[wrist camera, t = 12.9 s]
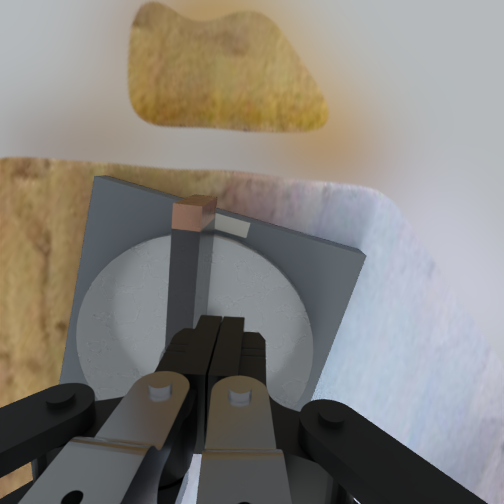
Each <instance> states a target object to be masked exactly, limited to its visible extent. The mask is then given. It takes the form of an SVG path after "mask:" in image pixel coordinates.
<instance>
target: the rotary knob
mask: <svg viewBox="0 0 504 504" xmlns="http://www.w3.org/2000/svg"><path fill="white" fill-rule="evenodd" d="M216 206H217V197H212V196H204V195H192V196H190V197H187V198H185V199H182V200H180V201H177V202H175V203H173V212H172V230H171V233H168V234H164V235H159V236H156V237H153V238H151V239H148V240H145V241H143V242H141V243H139V244H137V245H135V246H134V247H132V248H130V249H128V250H127V251H125V252H124V253H122V254H121V255H119V256H118V257H117V258H115V259H114V260H112V261H111V262H110V263H109V264H108V265H107V266H106V267H105V268H104V269H103V270H102V271H101V272H100V273H99V275H98V276H97V277H96V278H95V280H94V281H93V282H92V284H91V286H90V287H89V289H88V291H87V293H86V295H85V297H84V299H83V302H82V305H81V308H80V311H79V316H78V321H77V331H76V342H77V352H78V356H79V361H80V365H81V368H82V370H83V373H84V376H85V378H86V380H87V382H88V384H89V386H90V387H91V388H92V389H93V390H94V392H95V396H96V397H97V398H98V400H105V399H112V398H118V397H123V396H125V395H126V394H127V392H128V391H129V389H130V388H131V387H132V385H133V384H134V383H135V382H136V381H137V380H138V379H139V378H141V377H143V376H145V375H147V374H150V373H154V371H155V370H156V368H157V366H158V364H159V362H160V360H161V358H162V357H163V355H164V353H165V352H166V349H167V347H168V345H170V342H171V340H172V338H173V336H174V335H175V334H176V333H178V332H179V331H180V330H182V329H183V328H193V329H195V328H196V325H197V323H198V320H199V318H200V316H201V315H214V316H222V317H224V316H231V317H245V327H244V332H259V333H260V334H261V335H262V336H263V338H264V339H265V340H266V385H267V390H268V393H269V395H270V396H271V397H272V399H273V400H275V401H276V402H277V403H279V404H280V405H282V406H284V407H287V408H290V409H293V408H294V406H295V405H296V404H297V402H298V400H299V399H300V397H301V395H302V394H303V392H304V389H305V387H306V384H307V382H308V380H309V376H310V372H311V368H312V361H313V336H312V331H311V326H310V322H309V318H308V315H307V312H306V309H305V306H304V303H303V301H302V299H301V297H300V295H299V293H298V291H297V289H296V287H295V286H294V284H293V283H292V282H291V280H290V279H289V277H288V276H287V275H286V274H285V273H284V272H283V271H282V269H281V268H280V267H279V266H278V265H277V264H276V263H274V262H273V261H272V260H271V259H270V258H268V257H267V256H266V255H265V254H263V253H262V252H260V251H258V250H257V249H255V248H254V247H252V246H250V245H248V244H246V243H244V242H242V241H239V240H237V239H234V238H231V237H228V236H225V235H221V234H216V233H214V229H215V217H216ZM205 446H206V445H205Z"/></svg>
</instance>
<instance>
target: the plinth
mask: <svg viewBox="0 0 504 504" xmlns="http://www.w3.org/2000/svg"><path fill="white" fill-rule="evenodd" d="M182 199H185V198H181V197H178V196H174V195H171V194H167V193H164V192H161V191H157V190H154V189H150V188H147V187H144V186H140V185H137V184H133V183H130V182H127V181H123V180H120V179H116V178H113V177H109V176H94V182H93V188H92V194H91V200H90V206H89V212H88V217H87V223H86V229H85V235H84V241H83V247H82V253H81V259H80V265H79V270H78V276H77V282H76V288H75V294H74V300H73V306H72V312H71V318H70V323H69V329H68V335H67V341H66V347H65V353H64V359H63V365H62V371H61V376H60V382H59V385H60V384H65V383H82V384H86V385H88V386H89V384H88V382H87V380H86V378H85V376H84V373H83V370H82V368H81V365H80V361H79V356H78V352H77V342H76V331H77V321H78V316H79V311H80V308H81V305H82V302H83V299H84V297H85V295H86V293H87V291H88V289H89V287H90V286H91V284H92V282H93V281H94V280H95V278H96V277H97V276H98V275H99V273H100V272H101V271H102V270H103V269H104V268H105V267H106V266H107V265H108V264H109V263H110V262H111V261H112V260H114V259H115V258H117V257H118V256H119V255H121V254H122V253H124V252H125V251H127V250H128V249H130V248H132V247H134V246H135V245H137V244H139V243H141V242H143V241H145V240H148V239H151V238H153V237H156V236H159V235H164V234H168V233H171V230H172V212H173V203H175V202H177V201H180V200H182ZM214 233H216V234H221V235H225V236H228V237H231V238H234V239H237V240H239V241H242V242H244V243H246V244H248V245H250V246H252V247H254V248H255V249H257V250H258V251H260V252H262V253H263V254H265V255H266V256H267V257H268V258H270V259H271V260H272V261H273V262H274V263H276V264H277V265H278V266H279V267H280V268H281V269H282V271H283V272H284V273H285V274H286V275H287V276H288V277H289V279H290V280H291V282H292V283H293V284H294V286H295V287H296V289H297V291H298V293H299V295H300V297H301V299H302V301H303V303H304V306H305V309H306V312H307V315H308V318H309V322H310V326H311V331H312V336H313V361H312V368H311V372H310V376H309V380H308V382H307V384H306V387H305V389H304V392H303V394H302V395H301V397H300V399H299V400H298V402H297V404H296V405H295V406H294V408H293V410H296V411H299V412H300V411H301V409H302V407H303V406H304V405H305V404H307V403H308V402H310V401H311V398H312V396H313V393H314V391H315V388H316V385H317V383H318V380H319V378H320V375H321V373H322V370H323V367H324V365H325V362H326V360H327V357H328V354H329V352H330V349H331V347H332V344H333V341H334V339H335V336H336V334H337V331H338V328H339V326H340V323H341V321H342V318H343V316H344V313H345V310H346V308H347V305H348V303H349V300H350V297H351V295H352V292H353V290H354V287H355V284H356V282H357V279H358V277H359V274H360V271H361V269H362V266H363V264H364V261H365V258H366V255H365V254H364V253H363V252H362V251H361V250H359V249H355V248H352V247H348V246H345V245H342V244H338V243H335V242H331V241H328V240H325V239H321V238H318V237H314V236H311V235H307V234H304V233H301V232H297V231H294V230H290V229H287V228H284V227H280V226H277V225H273V224H270V223H266V222H263V221H260V220H256V219H253V218H249V217H246V216H243V215H239V214H236V213H232V212H229V211H226V210H222V209H219V208H216V217H215V229H214ZM95 401H99V400H98V398H97V397H96V396H95Z"/></svg>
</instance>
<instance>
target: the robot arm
mask: <svg viewBox="0 0 504 504" xmlns="http://www.w3.org/2000/svg"><path fill="white" fill-rule="evenodd" d="M244 327H245V317H231V316H224V317H222V316H214V315H201V316H200V318H199V320H198V323H197V325H196V328H195V329H193V328H183V329H182V330H180V331H179V332H178V333H176V334H175V335H174V336H173V338H172V340H171V342H170V345H168V347H167V349H166V352H165V353H164V355H163V357H162V358H161V360H160V362H159V364H158V366H157V368H156V370H155V371H154V373H150V374H147V375H145V376H143V377H141V378H139V379H138V380H137V381H136V382H135V383H134V384H133V385H132V387H131V388H130V389H129V391H128V392H127V394H126V395H125V396H123V397H118V398H112V399H105V400H99V401H95V392H94V390H93V389H92V388H91V387H90V386H88V385H86V384H82V383H65V384H60V385H56V386H53V387H50V388H47V389H45V390H43V391H40V392H38V393H35V394H33V395H30V396H28V397H26V398H23V399H21V400H18V401H16V402H13V403H11V404H9V405H6V406H4V407H1V408H0V478H1V477H3V476H5V475H7V474H9V473H11V472H12V471H14V470H16V469H18V468H20V467H22V466H24V465H25V464H27V463H29V462H31V467H32V475H33V480H32V481H30V482H29V483H27V484H25V485H24V486H22V487H20V488H18V489H17V490H15V491H13V492H11V493H10V494H8V495H6V496H5V497H3V498H1V499H0V504H181V502H182V499H183V496H184V493H185V490H186V487H187V484H188V476H189V468H190V465H191V461H192V457H193V454H202V459H201V467H200V476H199V484H198V493H197V501H196V504H358V503H357V502H356V501H355V500H354V498H355V499H356V500H357V501H358V502H360V503H361V504H488V503H486V502H485V501H483V500H482V499H480V498H479V497H478V496H476V495H475V494H473V493H472V492H470V491H469V490H468V489H466V488H465V487H463V486H462V485H460V484H459V483H458V482H456V481H455V480H453V479H452V478H450V477H449V476H448V475H446V474H445V473H443V472H442V471H440V470H439V469H438V468H436V467H435V466H433V465H432V464H430V463H429V462H427V461H426V460H425V459H423V458H422V457H420V456H419V455H417V454H416V453H415V452H413V451H412V450H410V449H409V448H407V447H406V446H405V445H403V444H402V443H400V442H399V441H397V440H396V439H395V438H393V437H392V436H390V435H389V434H387V433H386V432H385V431H383V430H382V429H380V428H379V427H377V426H376V425H374V424H373V423H372V422H370V421H369V420H367V419H366V418H364V417H363V416H362V415H360V414H359V413H357V412H356V411H354V410H353V409H352V408H350V407H348V406H347V405H345V404H343V403H340V402H337V401H333V400H327V399H319V400H313V401H310V402H308V403H307V404H305V405H304V406H303V407H302V409H301V411H300V412H299V411H296V410H293V409H290V408H287V407H284V406H282V405H280V404H279V403H277V402H276V401H275V400H273V399H272V397H271V396H270V395H269V393H268V390H267V385H266V340H265V339H264V338H263V336H262V335H261V334H260V333H259V332H244ZM205 445H206V446H205Z"/></svg>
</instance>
